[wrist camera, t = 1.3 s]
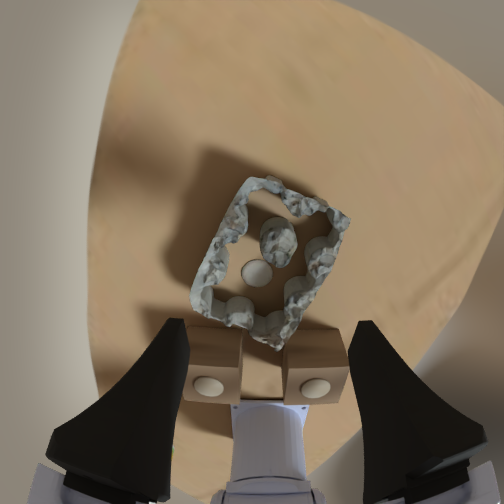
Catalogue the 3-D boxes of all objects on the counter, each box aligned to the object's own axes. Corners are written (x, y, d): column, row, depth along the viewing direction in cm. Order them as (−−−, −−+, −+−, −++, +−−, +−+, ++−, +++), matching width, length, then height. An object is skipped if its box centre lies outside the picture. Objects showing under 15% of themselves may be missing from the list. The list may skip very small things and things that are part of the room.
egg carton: (276, 324, 23) (277, 359, 20) (190, 287, 22) (176, 318, 18) (350, 211, 19) (369, 232, 16) (252, 159, 18) (249, 167, 14)
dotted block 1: (242, 365, 25) (239, 406, 21) (193, 363, 25) (184, 402, 21) (242, 328, 23) (238, 369, 19) (187, 325, 23) (174, 365, 19)
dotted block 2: (329, 365, 25) (338, 404, 21) (281, 366, 25) (283, 407, 21) (338, 328, 23) (351, 368, 19) (285, 329, 23) (289, 370, 19)
